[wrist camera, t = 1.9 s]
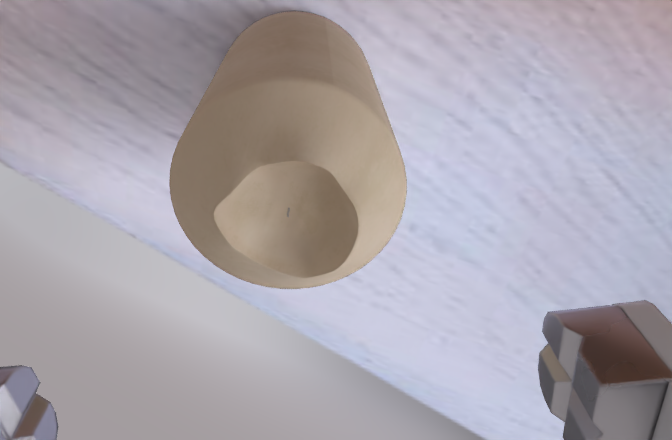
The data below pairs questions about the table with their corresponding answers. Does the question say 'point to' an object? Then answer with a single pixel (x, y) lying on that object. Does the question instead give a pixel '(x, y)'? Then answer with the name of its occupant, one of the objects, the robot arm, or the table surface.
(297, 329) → the table surface
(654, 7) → the table surface
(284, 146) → the candle
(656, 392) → the robot arm
